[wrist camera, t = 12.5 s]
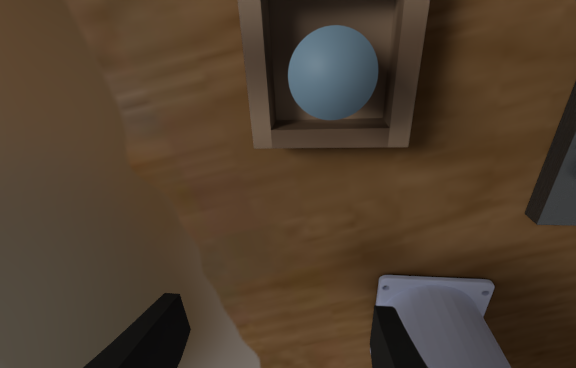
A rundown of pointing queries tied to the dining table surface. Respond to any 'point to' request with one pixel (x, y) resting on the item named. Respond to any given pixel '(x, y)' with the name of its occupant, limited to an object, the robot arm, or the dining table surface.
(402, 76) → the stylus holder
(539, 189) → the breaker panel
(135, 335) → the robot arm
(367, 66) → the blue rounded cylinder
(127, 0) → the dining table surface
